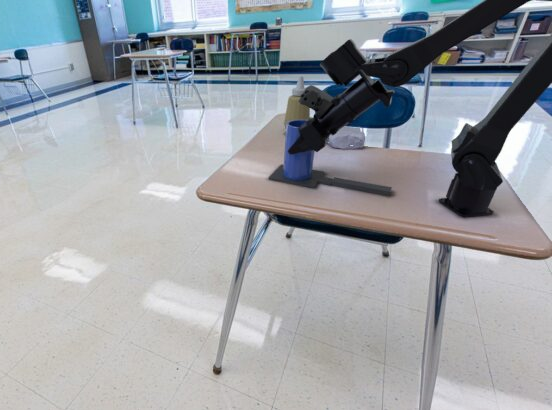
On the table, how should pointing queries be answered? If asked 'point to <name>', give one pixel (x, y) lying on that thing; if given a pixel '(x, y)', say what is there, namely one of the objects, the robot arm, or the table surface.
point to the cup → (296, 155)
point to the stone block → (348, 138)
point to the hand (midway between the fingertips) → (293, 147)
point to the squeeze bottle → (297, 104)
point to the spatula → (330, 182)
